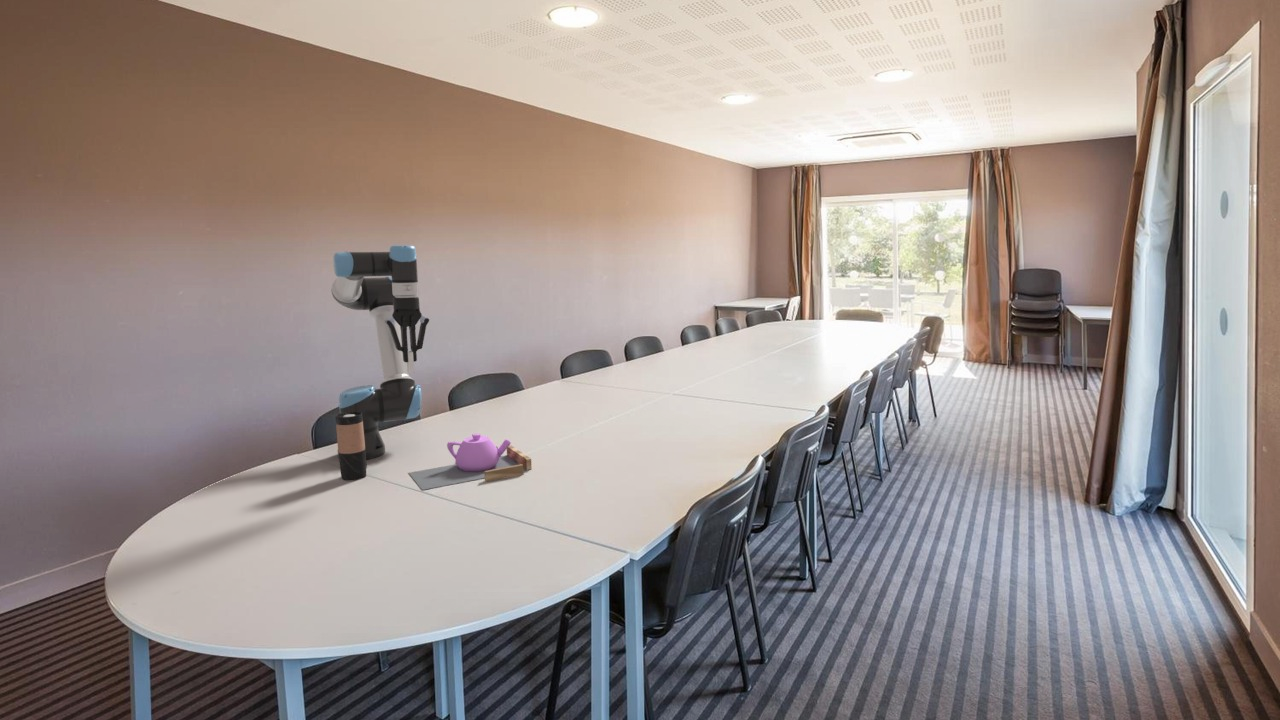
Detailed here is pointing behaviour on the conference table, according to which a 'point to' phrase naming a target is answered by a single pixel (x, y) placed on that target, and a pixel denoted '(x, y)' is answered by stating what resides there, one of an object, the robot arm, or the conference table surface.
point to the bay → (510, 470)
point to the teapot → (477, 453)
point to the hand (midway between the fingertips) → (410, 372)
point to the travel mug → (351, 446)
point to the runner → (454, 474)
